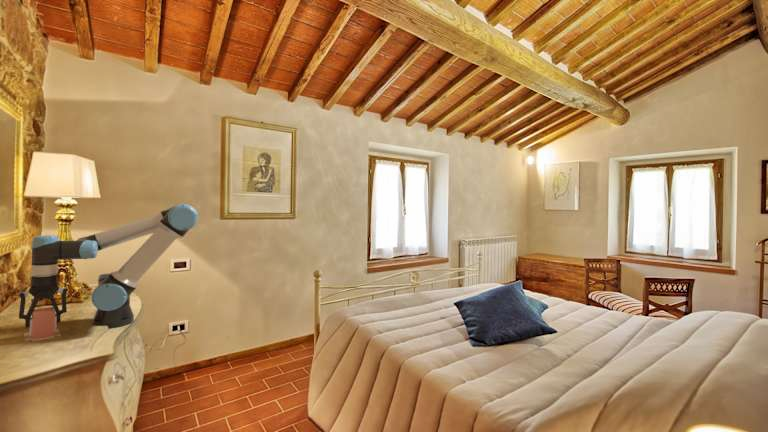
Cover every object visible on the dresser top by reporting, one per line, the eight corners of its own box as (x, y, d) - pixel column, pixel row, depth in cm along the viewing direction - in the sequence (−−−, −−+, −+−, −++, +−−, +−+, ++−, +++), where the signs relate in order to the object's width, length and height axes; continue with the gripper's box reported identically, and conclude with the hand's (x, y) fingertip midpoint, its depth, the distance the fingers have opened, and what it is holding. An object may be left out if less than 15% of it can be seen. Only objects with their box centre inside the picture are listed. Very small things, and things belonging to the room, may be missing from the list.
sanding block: (54, 337, 136) (54, 311, 135) (32, 341, 131) (33, 314, 131) (52, 332, 141) (53, 306, 141) (31, 335, 137) (32, 309, 136)
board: (61, 340, 136) (61, 337, 136) (25, 347, 129) (25, 344, 129) (57, 330, 147) (57, 327, 147) (23, 335, 139) (23, 332, 139)
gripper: (75, 271, 145) (73, 325, 146) (9, 275, 131) (7, 336, 132) (78, 273, 140) (76, 330, 140) (8, 279, 126) (7, 342, 126)
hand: (42, 333), depth 136 cm, fingers closed on sanding block, 6 cm apart
